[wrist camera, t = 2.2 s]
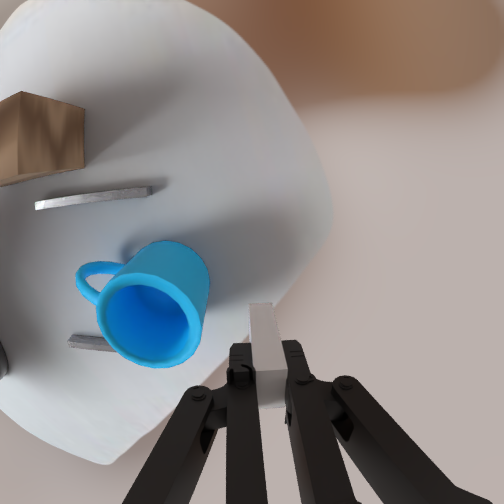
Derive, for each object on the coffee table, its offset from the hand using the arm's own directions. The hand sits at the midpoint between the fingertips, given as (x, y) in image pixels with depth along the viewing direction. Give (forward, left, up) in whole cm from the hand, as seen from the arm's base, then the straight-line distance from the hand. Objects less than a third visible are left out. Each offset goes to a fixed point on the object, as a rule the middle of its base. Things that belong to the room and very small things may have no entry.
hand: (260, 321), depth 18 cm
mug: (-10, 0, -9) cm, 13 cm away
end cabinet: (-22, +14, -9) cm, 27 cm away
